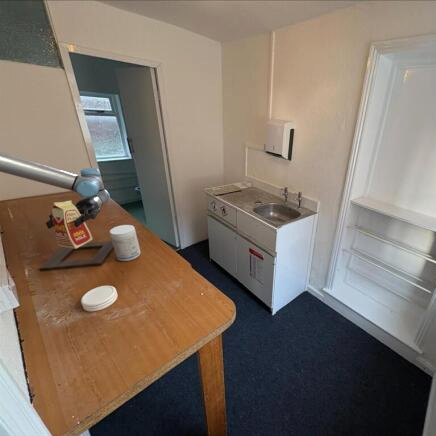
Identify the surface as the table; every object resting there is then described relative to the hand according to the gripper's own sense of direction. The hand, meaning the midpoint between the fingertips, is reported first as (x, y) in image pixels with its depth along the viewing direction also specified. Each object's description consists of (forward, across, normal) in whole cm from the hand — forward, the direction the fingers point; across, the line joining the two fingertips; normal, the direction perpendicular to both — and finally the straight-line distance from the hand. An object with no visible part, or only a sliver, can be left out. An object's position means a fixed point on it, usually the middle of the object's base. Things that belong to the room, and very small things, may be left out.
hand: (62, 224), depth 95 cm
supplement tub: (-3, -19, -20) cm, 28 cm away
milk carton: (-5, 0, -11) cm, 12 cm away
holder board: (-7, +1, -20) cm, 21 cm away
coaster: (+27, -19, -20) cm, 39 cm away
